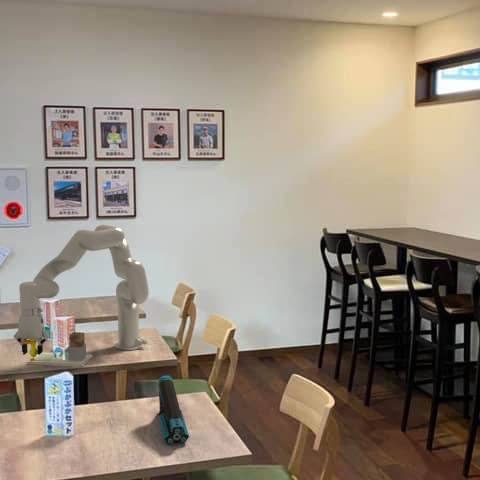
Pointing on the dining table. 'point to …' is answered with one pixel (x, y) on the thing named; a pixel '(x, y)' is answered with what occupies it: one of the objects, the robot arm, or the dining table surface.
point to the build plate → (57, 360)
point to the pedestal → (77, 353)
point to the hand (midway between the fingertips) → (32, 353)
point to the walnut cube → (76, 339)
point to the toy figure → (32, 348)
